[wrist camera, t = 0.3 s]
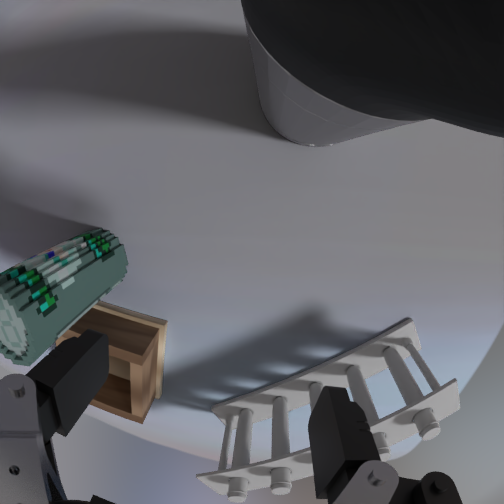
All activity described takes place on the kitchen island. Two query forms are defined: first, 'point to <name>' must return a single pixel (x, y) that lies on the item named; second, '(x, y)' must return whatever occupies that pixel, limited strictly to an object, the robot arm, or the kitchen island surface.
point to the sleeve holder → (126, 358)
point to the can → (56, 292)
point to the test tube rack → (307, 392)
